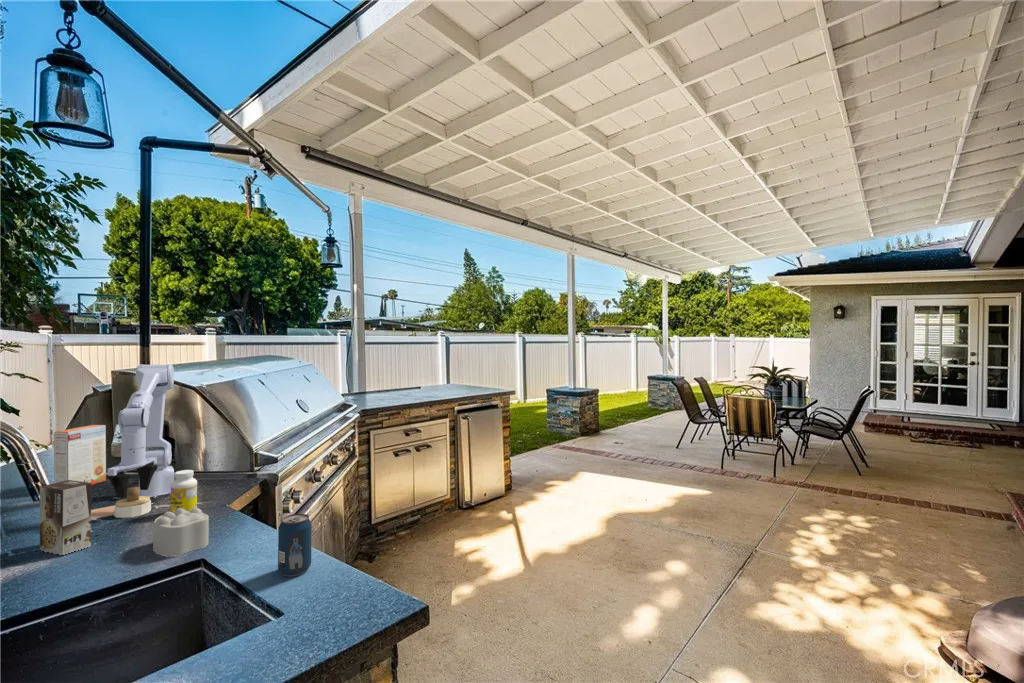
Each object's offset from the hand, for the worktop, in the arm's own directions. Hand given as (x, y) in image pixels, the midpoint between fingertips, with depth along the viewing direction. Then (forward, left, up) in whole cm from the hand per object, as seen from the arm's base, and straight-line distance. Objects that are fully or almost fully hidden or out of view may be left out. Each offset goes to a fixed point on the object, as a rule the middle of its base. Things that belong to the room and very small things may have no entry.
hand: (133, 493), depth 145 cm
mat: (+6, -7, -6) cm, 11 cm away
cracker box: (+5, -48, -6) cm, 49 cm away
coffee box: (+17, +17, -6) cm, 25 cm away
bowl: (0, 0, -6) cm, 6 cm away
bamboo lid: (0, 0, -3) cm, 3 cm away
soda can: (-15, +71, -6) cm, 73 cm away
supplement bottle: (-10, +11, -6) cm, 16 cm away
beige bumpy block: (-2, +36, -7) cm, 37 cm away
